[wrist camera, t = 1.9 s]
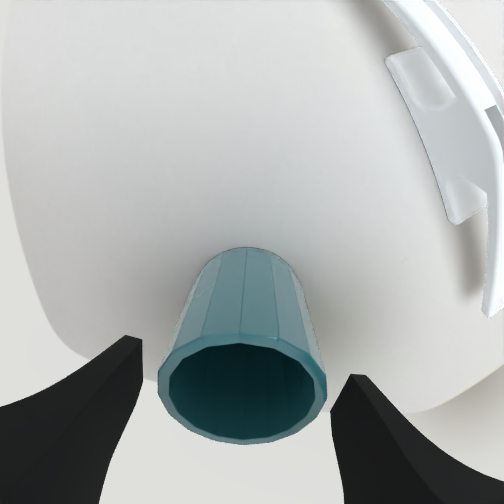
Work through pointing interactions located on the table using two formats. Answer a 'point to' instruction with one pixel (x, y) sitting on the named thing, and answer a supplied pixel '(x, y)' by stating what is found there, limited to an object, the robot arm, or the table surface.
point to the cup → (244, 353)
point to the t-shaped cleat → (456, 123)
